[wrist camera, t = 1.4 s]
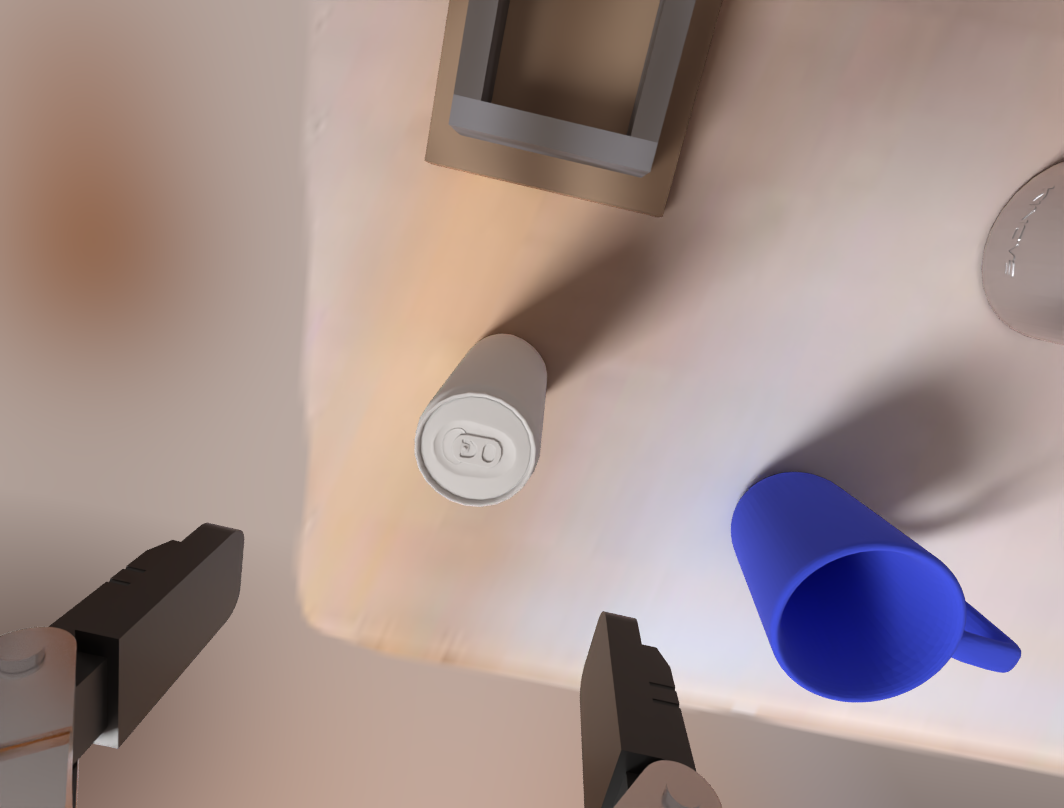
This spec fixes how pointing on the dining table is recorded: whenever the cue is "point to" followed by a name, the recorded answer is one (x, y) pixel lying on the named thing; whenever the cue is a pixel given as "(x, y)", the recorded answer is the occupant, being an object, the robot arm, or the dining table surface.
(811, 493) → the mug
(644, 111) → the can holder
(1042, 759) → the dining table surface
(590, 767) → the robot arm
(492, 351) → the beverage can
